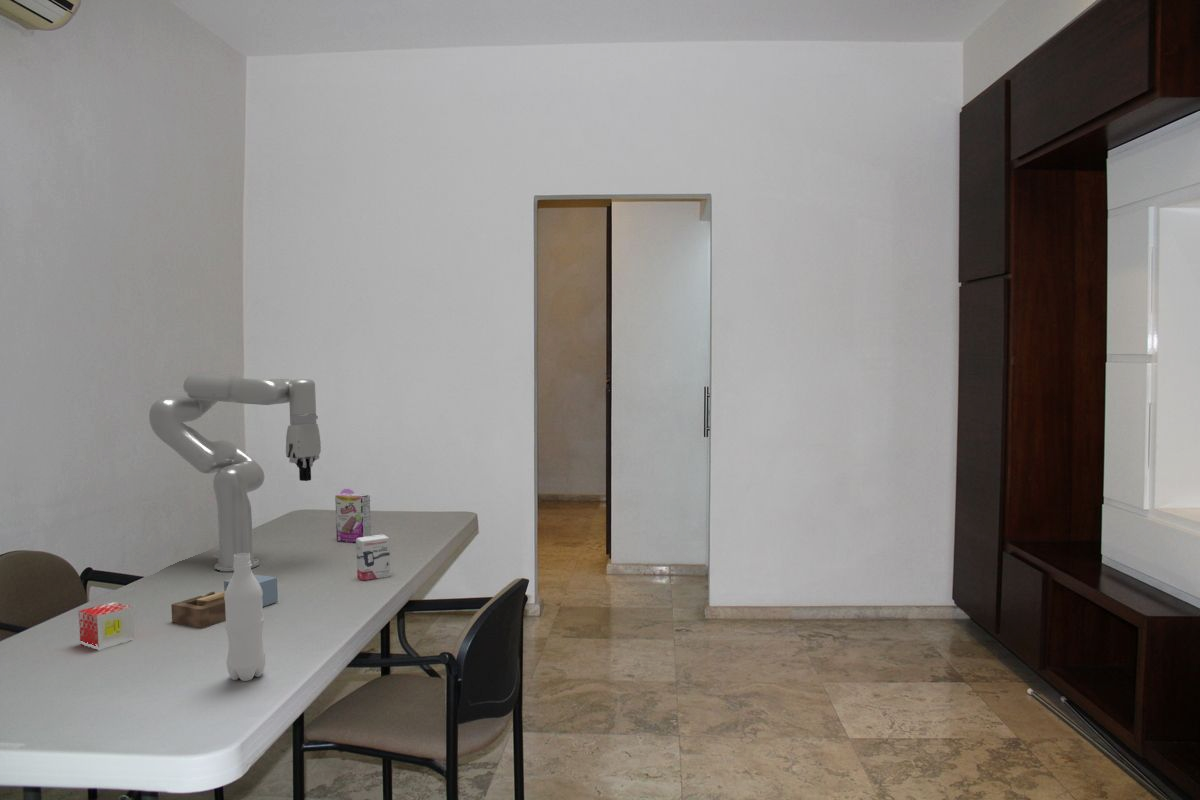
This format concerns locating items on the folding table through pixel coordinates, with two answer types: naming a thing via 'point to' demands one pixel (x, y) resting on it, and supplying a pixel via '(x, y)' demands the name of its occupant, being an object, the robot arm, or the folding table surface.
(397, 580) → the folding table surface
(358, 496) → the candy bar box
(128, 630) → the red and white box
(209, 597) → the oak slat
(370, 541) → the ink box
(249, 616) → the water bottle
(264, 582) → the blue end cap
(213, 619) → the walnut end cap
